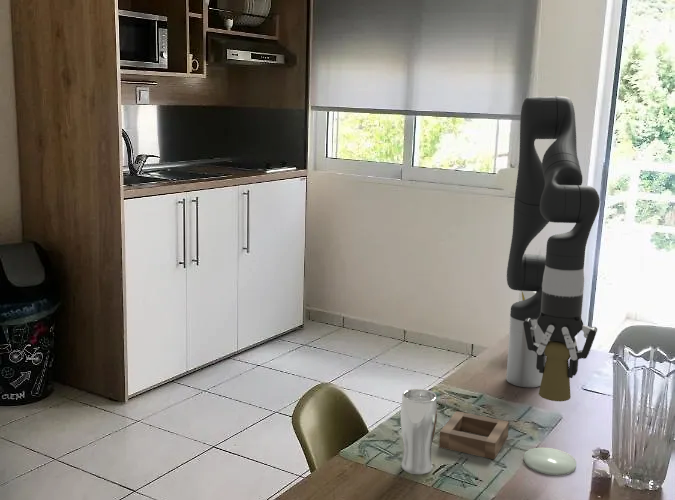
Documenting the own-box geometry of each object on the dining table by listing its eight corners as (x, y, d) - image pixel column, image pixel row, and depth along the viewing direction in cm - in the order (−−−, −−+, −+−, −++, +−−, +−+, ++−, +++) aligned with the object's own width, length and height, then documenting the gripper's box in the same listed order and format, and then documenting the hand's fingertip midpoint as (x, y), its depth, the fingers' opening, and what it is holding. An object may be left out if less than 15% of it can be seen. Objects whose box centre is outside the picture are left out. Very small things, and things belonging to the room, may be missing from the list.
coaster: (529, 447, 155) (529, 443, 154) (579, 457, 150) (579, 454, 150) (518, 467, 146) (519, 464, 146) (571, 479, 141) (571, 475, 141)
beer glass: (425, 479, 141) (428, 405, 138) (392, 469, 144) (395, 397, 141) (440, 464, 147) (443, 393, 144) (408, 455, 150) (411, 385, 147)
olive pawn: (572, 402, 142) (576, 348, 140) (539, 399, 143) (543, 345, 141) (569, 390, 148) (573, 338, 145) (537, 388, 149) (541, 335, 146)
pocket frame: (455, 425, 164) (456, 411, 163) (507, 436, 159) (508, 421, 159) (439, 447, 154) (439, 431, 153) (494, 459, 149) (495, 443, 148)
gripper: (604, 290, 141) (597, 374, 145) (528, 281, 147) (523, 362, 151) (599, 299, 135) (591, 387, 138) (520, 289, 141) (514, 374, 144)
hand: (556, 373), depth 144 cm, fingers closed on olive pawn, 5 cm apart
